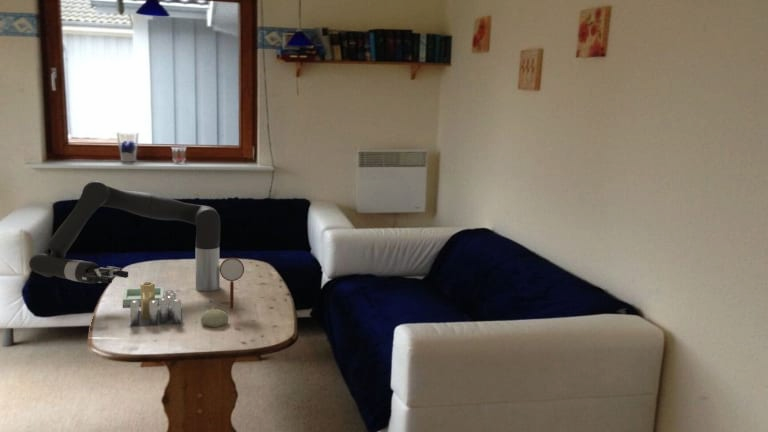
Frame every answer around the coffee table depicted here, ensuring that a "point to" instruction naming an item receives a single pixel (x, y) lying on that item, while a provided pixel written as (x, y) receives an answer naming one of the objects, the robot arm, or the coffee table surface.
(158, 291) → the parts tray
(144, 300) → the gold hexagonal pillar
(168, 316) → the spacer posts
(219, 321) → the sea urchin shell
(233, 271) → the magnifying glass
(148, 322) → the mat
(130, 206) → the robot arm
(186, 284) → the coffee table surface
